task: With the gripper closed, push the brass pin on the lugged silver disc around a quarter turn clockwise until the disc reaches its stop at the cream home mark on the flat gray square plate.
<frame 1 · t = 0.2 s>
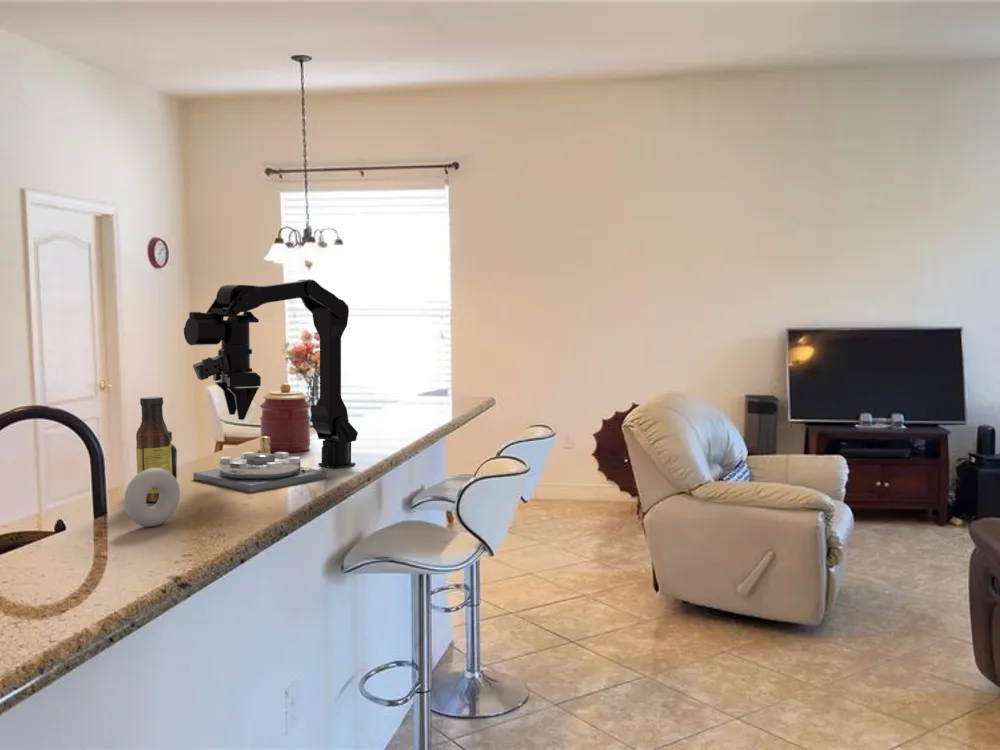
hand: (236, 417, 180), 14 cm above the countertop, tool pointing down, fingers open, 9 cm apart
canister: (285, 450, 224), on the countertop
supplement bottle: (159, 491, 170), on the countertop
flat gray square plate: (260, 478, 184), on the countertop
sauce bottle: (155, 500, 162), on the countertop
donut: (153, 527, 143), on the countertop
lugged silver disc: (260, 456, 184), point 5 cm above the countertop, hinge at 0.0°
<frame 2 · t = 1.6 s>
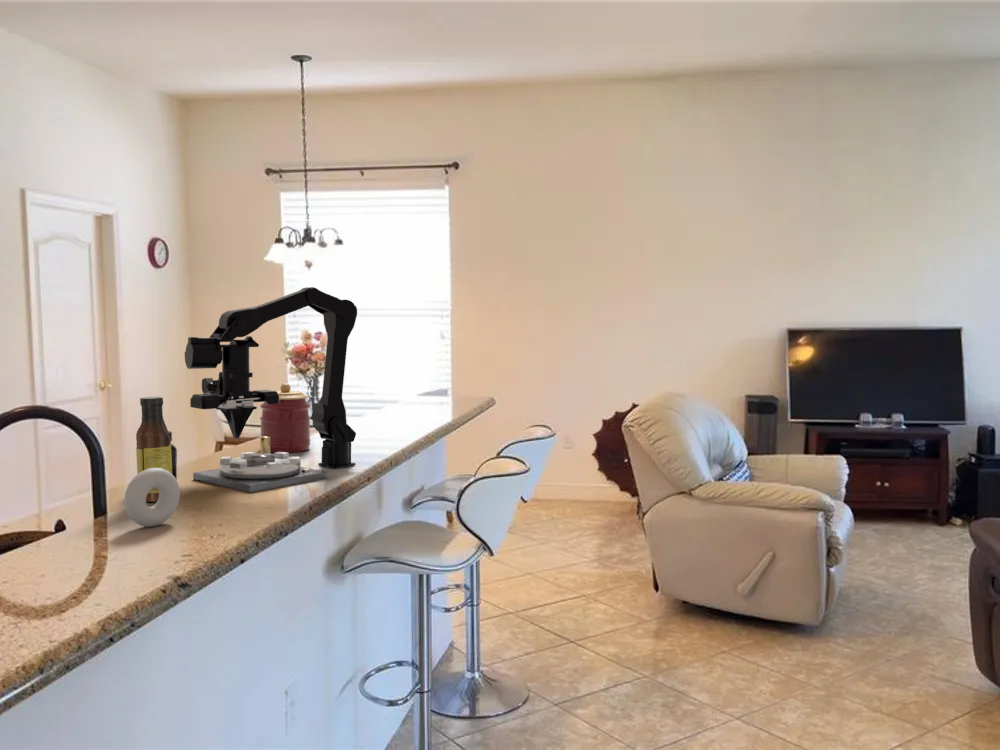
hand: (236, 438, 187), 8 cm above the countertop, tool pointing down, fingers closed
nothing on the countertop moved.
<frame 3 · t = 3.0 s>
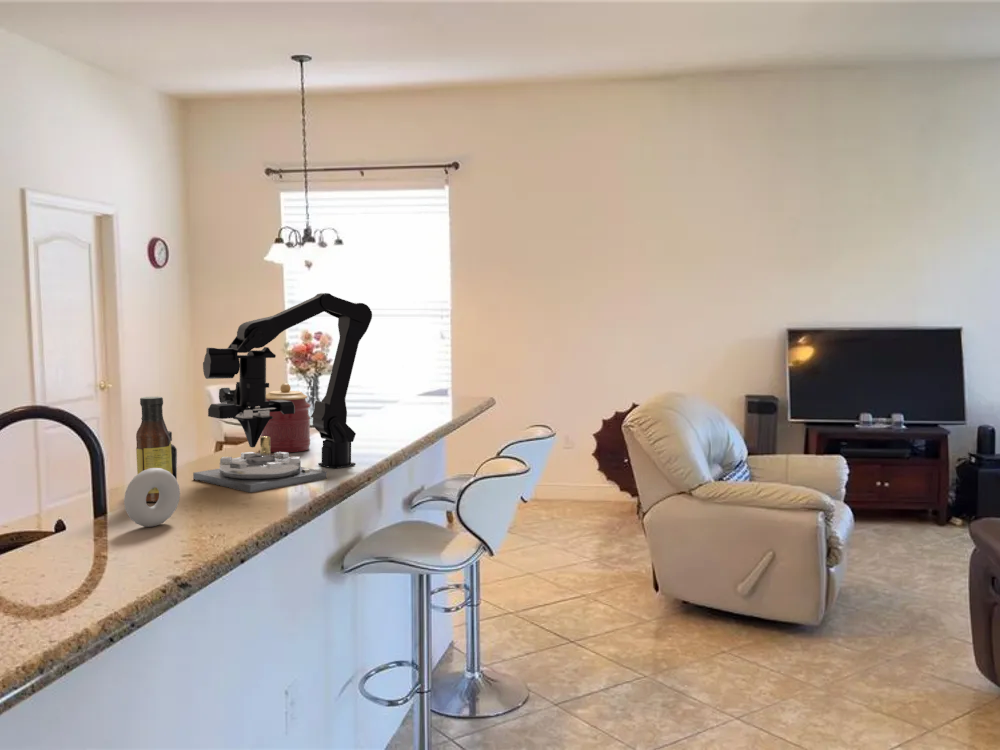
hand: (252, 447, 190), 6 cm above the countertop, tool pointing down, fingers closed
lugged silver disc: (260, 456, 184), point 5 cm above the countertop, hinge at -0.2°, touching gripper
everything else where it was.
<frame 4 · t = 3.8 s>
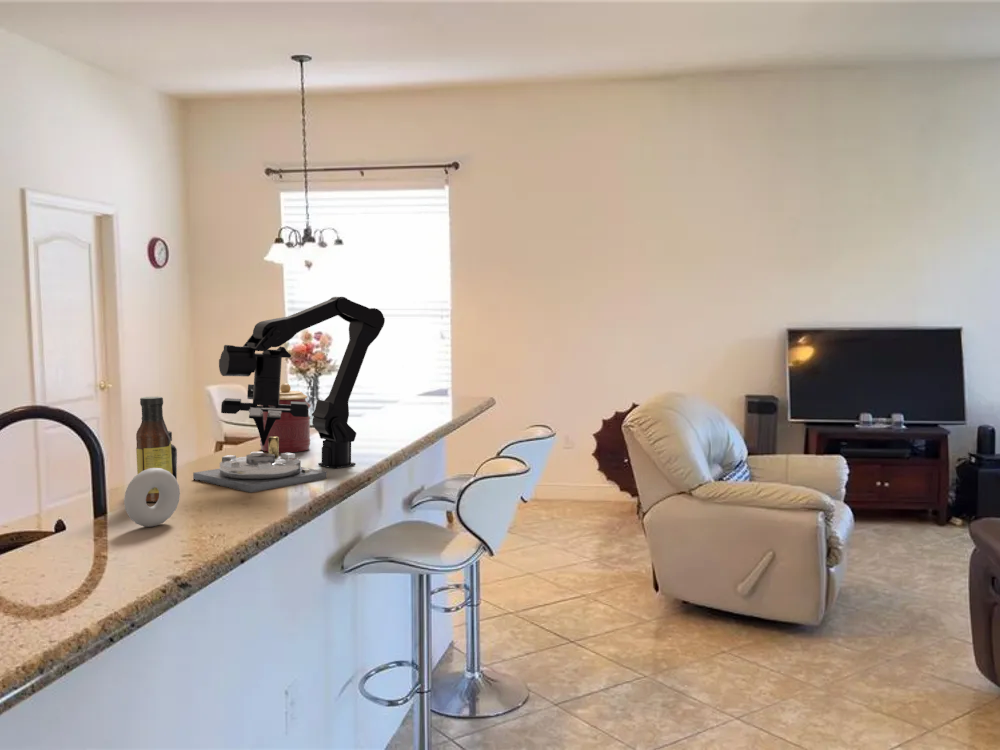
hand: (263, 445, 190), 6 cm above the countertop, tool pointing down, fingers closed
lugged silver disc: (260, 456, 184), point 5 cm above the countertop, hinge at -15.9°, touching gripper
everything else where it was.
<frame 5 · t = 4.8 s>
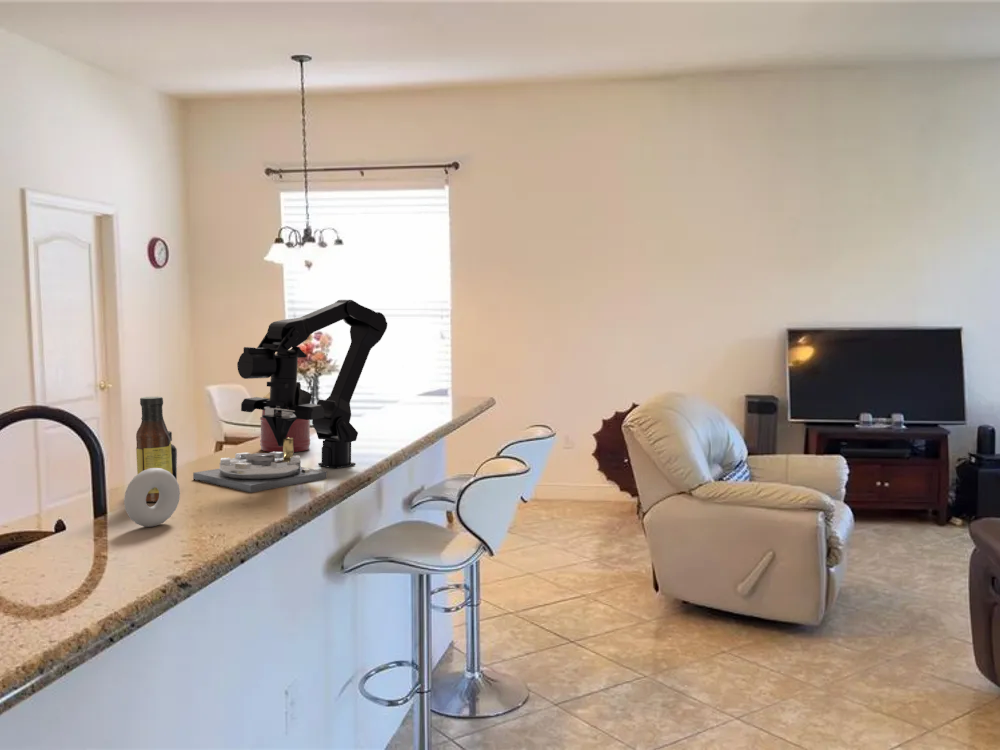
hand: (280, 446, 190), 6 cm above the countertop, tool pointing down, fingers closed
lugged silver disc: (260, 456, 184), point 5 cm above the countertop, hinge at -50.6°, touching gripper
everything else where it was.
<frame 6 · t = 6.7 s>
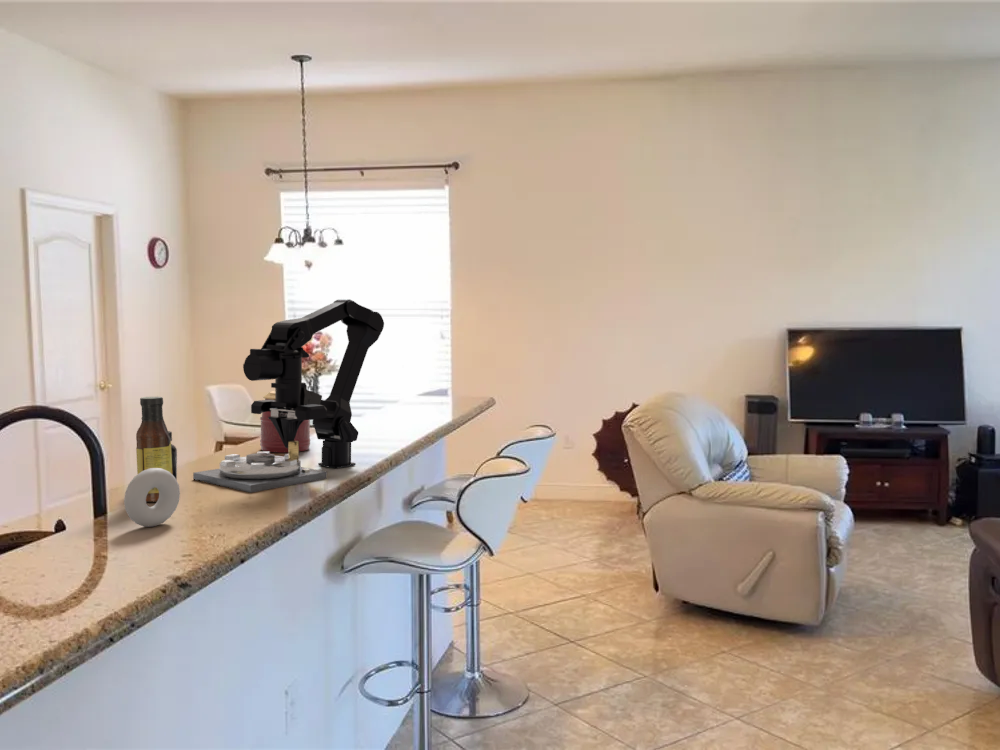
hand: (288, 447, 189), 6 cm above the countertop, tool pointing down, fingers closed
lugged silver disc: (260, 456, 184), point 5 cm above the countertop, hinge at -86.6°
everything else where it was.
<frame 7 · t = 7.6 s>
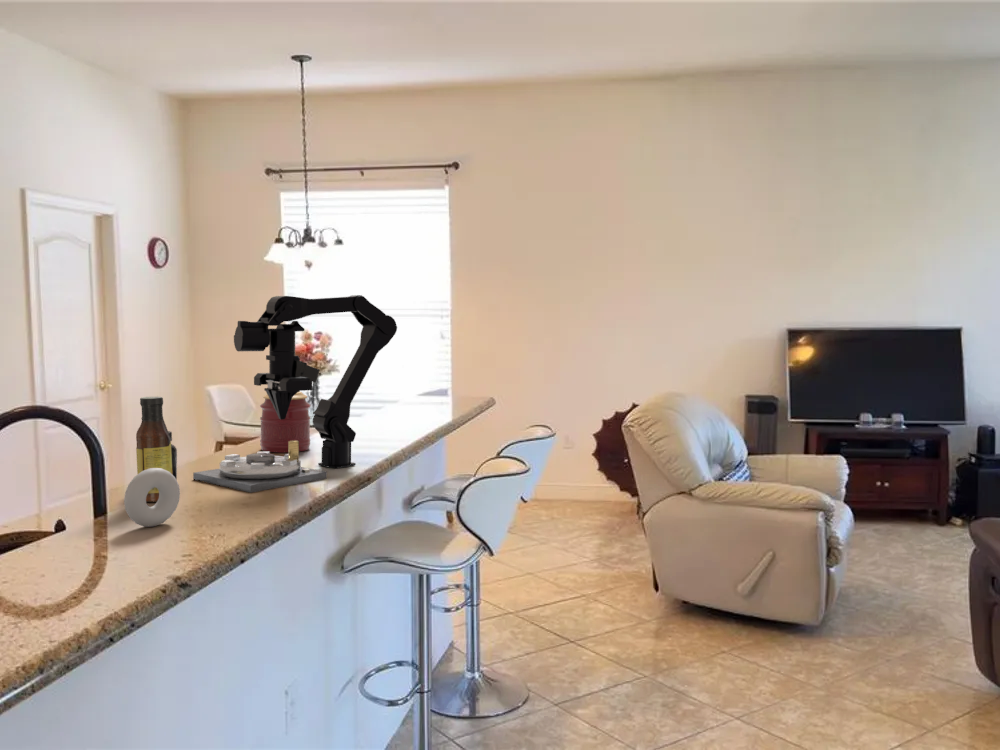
hand: (282, 419, 193), 12 cm above the countertop, tool pointing down, fingers closed
nothing on the countertop moved.
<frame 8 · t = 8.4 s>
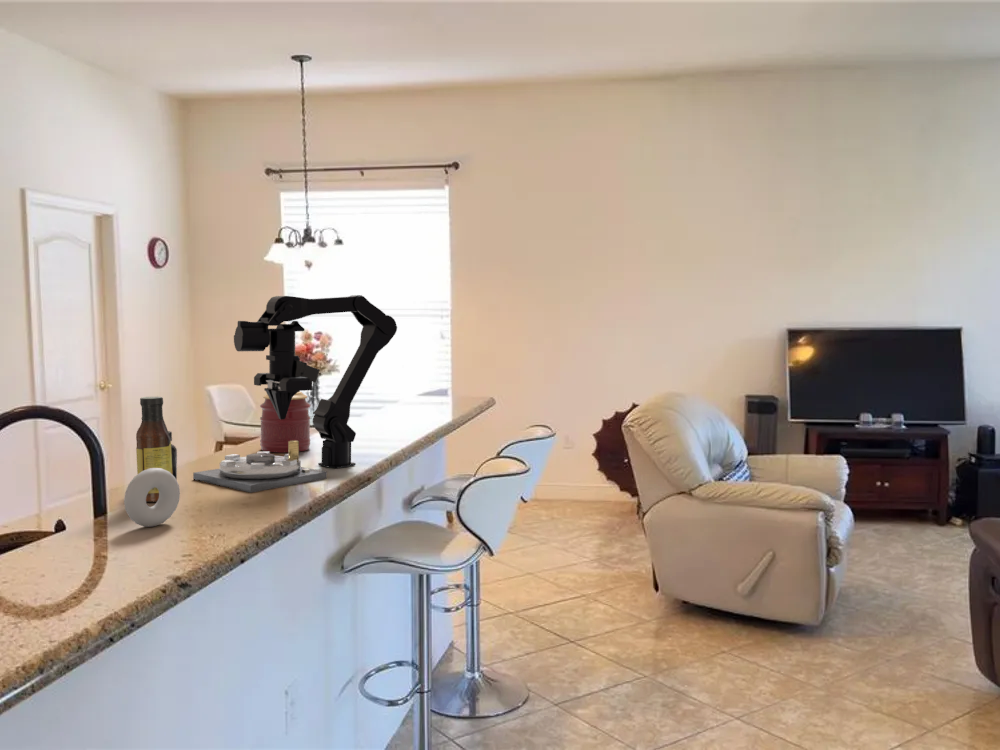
hand: (282, 419, 193), 12 cm above the countertop, tool pointing down, fingers closed
nothing on the countertop moved.
at the end: lugged silver disc at -87° (first picture: +0°) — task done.
